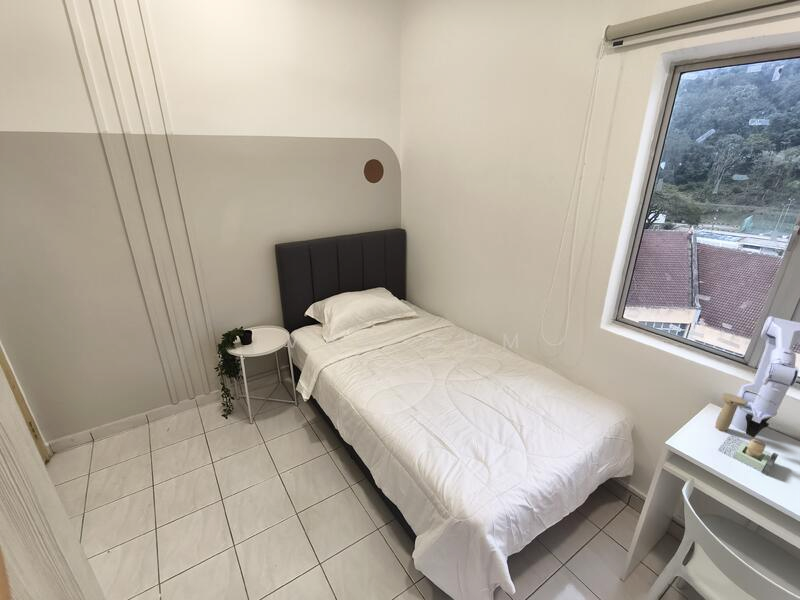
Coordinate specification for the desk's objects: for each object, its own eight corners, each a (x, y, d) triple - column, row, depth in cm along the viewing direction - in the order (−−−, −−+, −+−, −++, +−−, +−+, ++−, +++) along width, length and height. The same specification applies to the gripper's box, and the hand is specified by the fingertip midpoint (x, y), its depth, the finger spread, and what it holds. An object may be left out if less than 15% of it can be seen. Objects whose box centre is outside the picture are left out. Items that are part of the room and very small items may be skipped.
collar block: (740, 447, 130) (742, 442, 129) (767, 461, 124) (770, 455, 123) (733, 456, 126) (735, 451, 125) (761, 471, 120) (764, 465, 119)
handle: (729, 438, 135) (744, 405, 129) (707, 429, 139) (721, 396, 134) (731, 432, 138) (746, 399, 132) (710, 423, 143) (724, 391, 137)
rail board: (729, 436, 136) (734, 425, 134) (776, 458, 126) (782, 447, 125) (716, 452, 129) (721, 441, 127) (765, 477, 119) (771, 466, 117)
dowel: (758, 460, 124) (767, 444, 122) (755, 464, 122) (764, 448, 120) (745, 453, 127) (753, 437, 125) (742, 458, 125) (749, 441, 123)
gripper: (759, 384, 127) (744, 416, 132) (747, 399, 119) (731, 432, 124) (787, 394, 121) (771, 427, 127) (776, 411, 114) (759, 445, 119)
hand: (753, 430), depth 125 cm, fingers open, 7 cm apart
